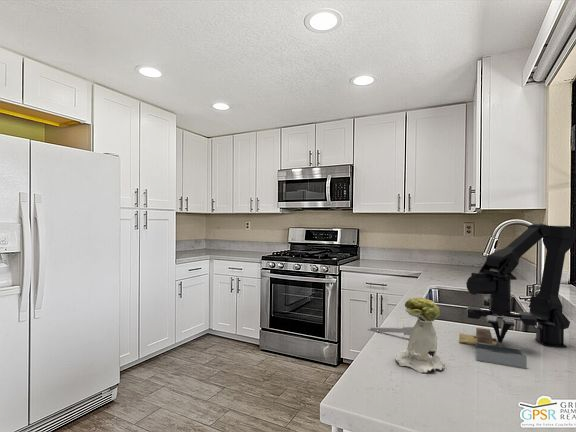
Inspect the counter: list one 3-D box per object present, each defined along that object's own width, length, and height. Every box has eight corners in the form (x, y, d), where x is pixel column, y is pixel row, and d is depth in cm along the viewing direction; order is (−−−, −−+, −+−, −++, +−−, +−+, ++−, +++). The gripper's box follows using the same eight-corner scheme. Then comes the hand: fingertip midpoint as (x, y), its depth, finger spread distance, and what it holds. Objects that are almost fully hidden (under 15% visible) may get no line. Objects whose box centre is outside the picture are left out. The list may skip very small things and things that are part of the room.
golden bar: (495, 344, 112) (495, 336, 111) (496, 350, 109) (496, 342, 109) (459, 339, 117) (459, 331, 116) (459, 344, 114) (459, 337, 113)
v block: (522, 359, 100) (522, 348, 101) (526, 368, 94) (526, 357, 94) (475, 352, 106) (475, 341, 106) (476, 360, 100) (476, 349, 100)
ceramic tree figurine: (407, 351, 106) (407, 291, 106) (451, 363, 97) (451, 298, 97) (389, 362, 97) (389, 297, 97) (435, 377, 88) (435, 305, 89)
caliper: (425, 343, 114) (425, 324, 114) (424, 344, 113) (424, 325, 113) (368, 330, 127) (369, 313, 127) (367, 330, 126) (367, 313, 126)
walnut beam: (489, 341, 116) (489, 329, 116) (492, 351, 107) (492, 338, 107) (476, 339, 117) (476, 327, 117) (477, 349, 108) (477, 336, 108)
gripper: (530, 292, 113) (530, 339, 113) (466, 286, 122) (466, 330, 121) (537, 298, 103) (537, 350, 103) (467, 292, 112) (467, 340, 111)
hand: (499, 342), depth 110 cm, fingers closed
